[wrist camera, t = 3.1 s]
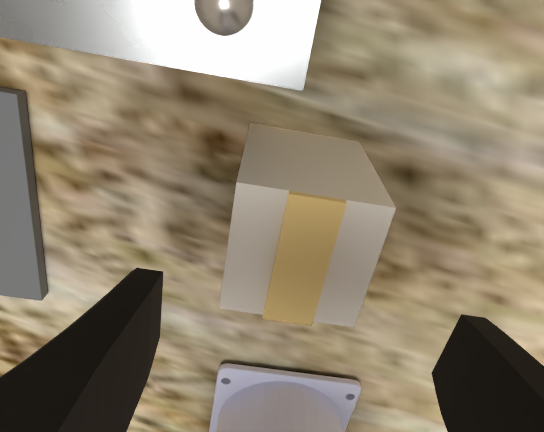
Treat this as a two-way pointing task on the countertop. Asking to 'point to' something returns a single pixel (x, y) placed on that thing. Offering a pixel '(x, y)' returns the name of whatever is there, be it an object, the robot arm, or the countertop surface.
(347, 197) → the block
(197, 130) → the countertop surface
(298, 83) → the unit
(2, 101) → the mat
